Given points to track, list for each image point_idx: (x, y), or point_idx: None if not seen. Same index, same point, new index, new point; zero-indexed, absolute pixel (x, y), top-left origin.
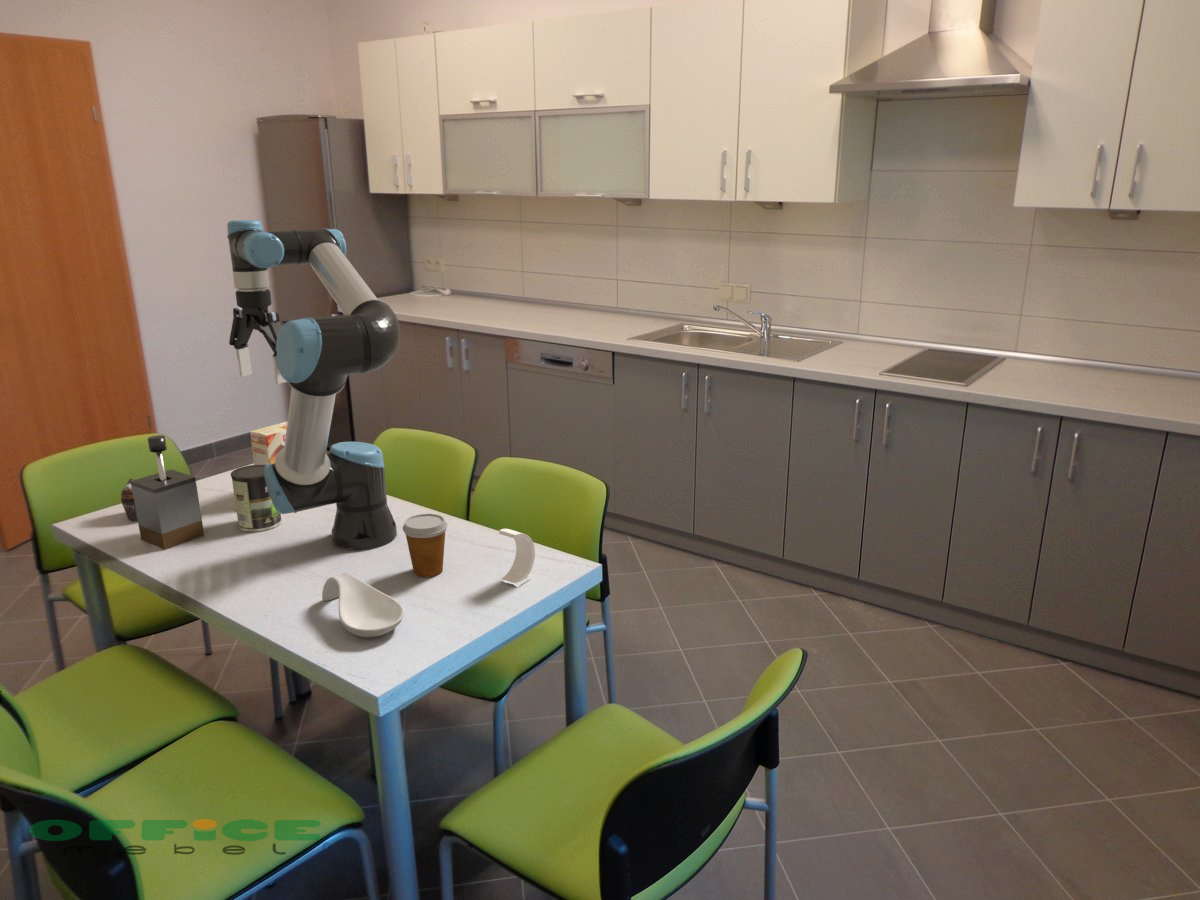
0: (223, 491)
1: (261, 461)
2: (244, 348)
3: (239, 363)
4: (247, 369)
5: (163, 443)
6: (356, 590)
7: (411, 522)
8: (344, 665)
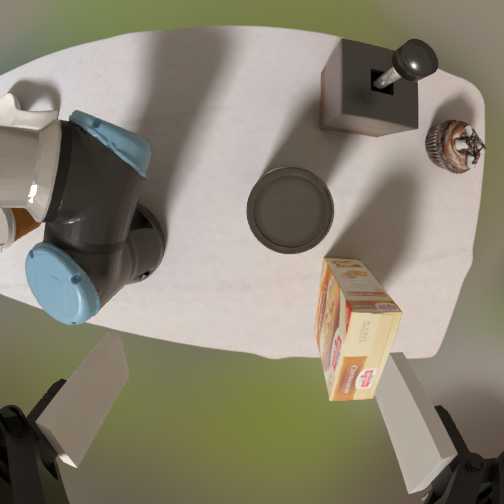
0: (425, 258)
1: (359, 284)
2: (427, 482)
3: (421, 395)
4: (388, 397)
5: (400, 60)
6: (13, 120)
7: (3, 217)
8: (7, 79)
